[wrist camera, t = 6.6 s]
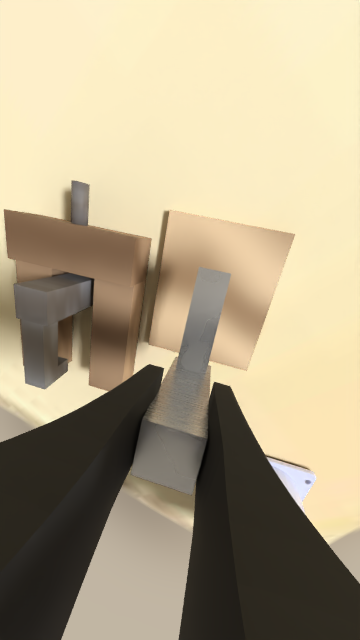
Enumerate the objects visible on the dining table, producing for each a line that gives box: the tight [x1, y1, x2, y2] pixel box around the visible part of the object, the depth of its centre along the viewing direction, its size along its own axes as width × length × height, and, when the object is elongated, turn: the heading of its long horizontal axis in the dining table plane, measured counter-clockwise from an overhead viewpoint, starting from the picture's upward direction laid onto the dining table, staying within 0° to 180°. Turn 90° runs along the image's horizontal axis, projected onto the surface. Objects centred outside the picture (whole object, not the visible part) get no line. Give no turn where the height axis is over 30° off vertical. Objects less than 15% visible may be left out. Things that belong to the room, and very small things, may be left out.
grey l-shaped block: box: [131, 267, 231, 495], centre depth 9 cm, size 7×2×6 cm, turn 169°
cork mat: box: [149, 210, 295, 371], centre depth 16 cm, size 10×8×1 cm
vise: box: [4, 181, 151, 391], centre depth 15 cm, size 14×9×6 cm, turn 169°
